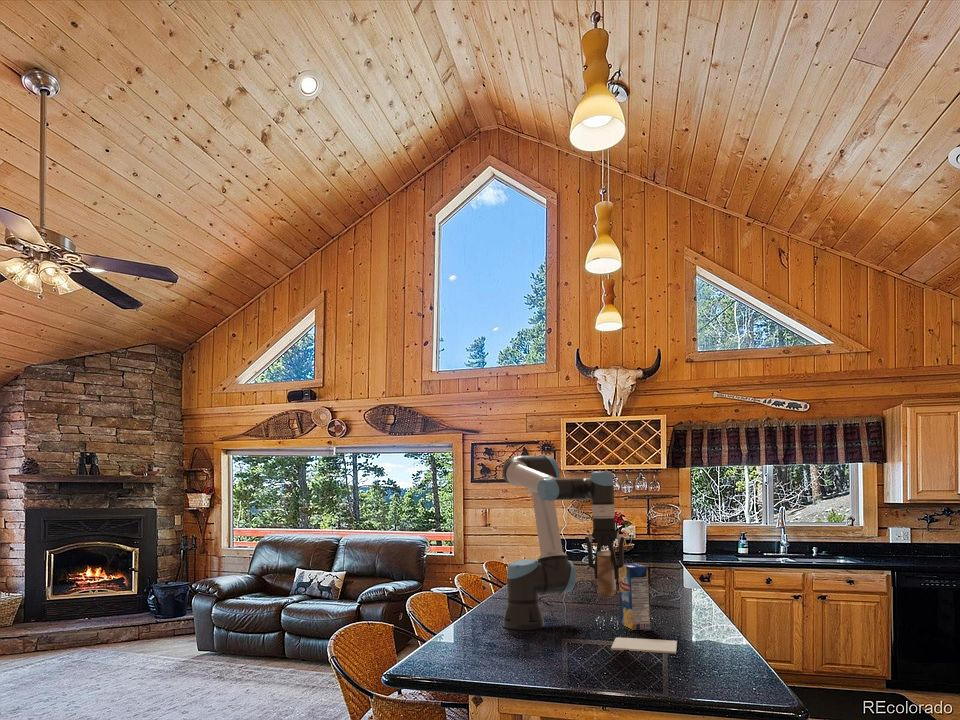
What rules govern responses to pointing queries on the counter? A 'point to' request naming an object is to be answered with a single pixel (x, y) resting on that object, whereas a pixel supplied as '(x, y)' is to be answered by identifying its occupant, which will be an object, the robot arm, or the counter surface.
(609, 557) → the beige rectangular box
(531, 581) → the robot arm
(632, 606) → the beverage box
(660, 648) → the felt mat
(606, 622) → the counter surface
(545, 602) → the counter surface
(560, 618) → the counter surface
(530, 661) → the counter surface
